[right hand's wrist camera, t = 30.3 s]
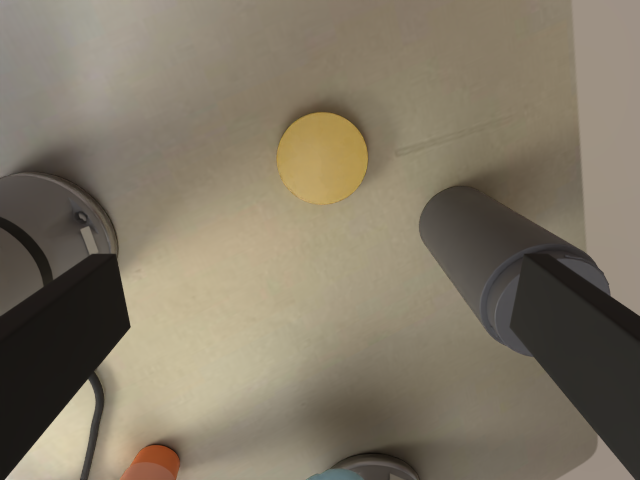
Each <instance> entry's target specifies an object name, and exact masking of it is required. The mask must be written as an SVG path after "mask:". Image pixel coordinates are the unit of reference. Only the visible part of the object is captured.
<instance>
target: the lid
mask: <svg viewBox="0 0 640 480" xmlns="http://www.w3.org/2000/svg"><path fill="white" fill-rule="evenodd" d="M367 165H368V152H367V147H366V144H365V141H364V139H363V137H362V135H361V133H360V132H359V130H358V129H357V128H356V127H355V126H354V125H353V124H352V123H351V122H350V121H348V120H347V119H345V118H344V117H342V116H340V115H337V114H334V113H330V112H315V113H311V114H307V115H305V116H303V117H301V118H299V119H298V120H296V121H295V122H294V123H293V124H291V126H290V127H289V128H288V129H287V130H286V131H285V133H284V134H283V136H282V138H281V140H280V143H279V146H278V150H277V167H278V171H279V175H280V177H281V179H282V181H283V183H284V184H285V186H286V187H287V188H288V190H289V191H290V192H292V193H293V194H294V195H295V196H296V197H298V198H300V199H301V200H303V201H306V202H309V203H312V204H319V205H325V204H332V203H336V202H338V201H341V200H343V199H345V198H347V197H348V196H349V195H351V194H352V193H353V192H354V191H355V190H356V189H357V188H358V186H359V185H360V184H361V182H362V180H363V178H364V176H365V173H366V170H367Z"/></svg>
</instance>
